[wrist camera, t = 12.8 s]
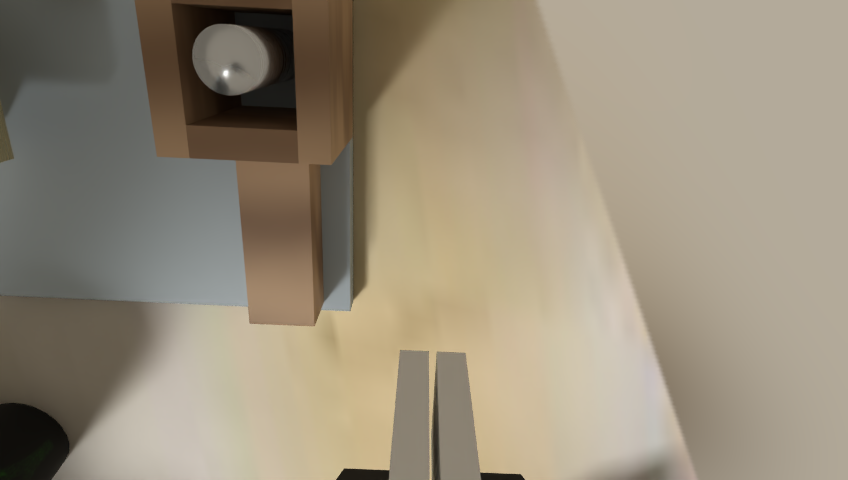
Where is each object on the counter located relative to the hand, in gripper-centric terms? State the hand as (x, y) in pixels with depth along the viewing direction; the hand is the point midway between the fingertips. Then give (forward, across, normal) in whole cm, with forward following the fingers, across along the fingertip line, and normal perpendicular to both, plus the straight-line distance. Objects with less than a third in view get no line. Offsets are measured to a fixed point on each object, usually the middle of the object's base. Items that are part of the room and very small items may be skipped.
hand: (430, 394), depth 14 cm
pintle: (+13, -7, +8) cm, 17 cm away
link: (+13, -7, +3) cm, 15 cm away
